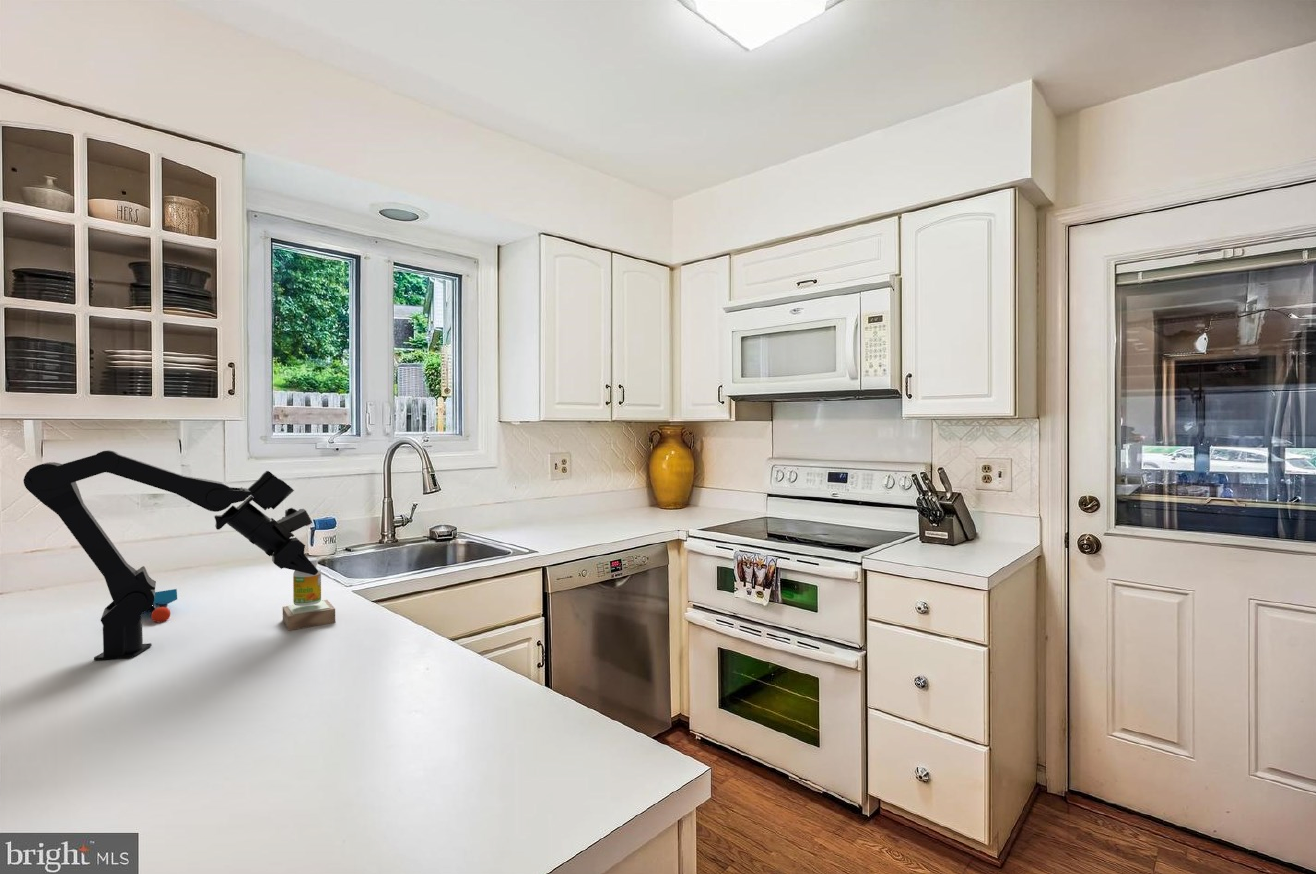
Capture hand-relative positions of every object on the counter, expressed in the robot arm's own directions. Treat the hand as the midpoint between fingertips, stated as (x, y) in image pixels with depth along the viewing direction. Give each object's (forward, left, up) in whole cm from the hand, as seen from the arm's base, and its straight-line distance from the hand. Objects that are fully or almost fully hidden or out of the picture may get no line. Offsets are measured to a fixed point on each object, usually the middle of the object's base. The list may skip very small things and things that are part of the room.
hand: (314, 570), depth 140 cm
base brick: (0, +1, -11) cm, 11 cm away
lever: (+14, +38, -12) cm, 42 cm away
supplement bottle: (-1, +1, -7) cm, 7 cm away
